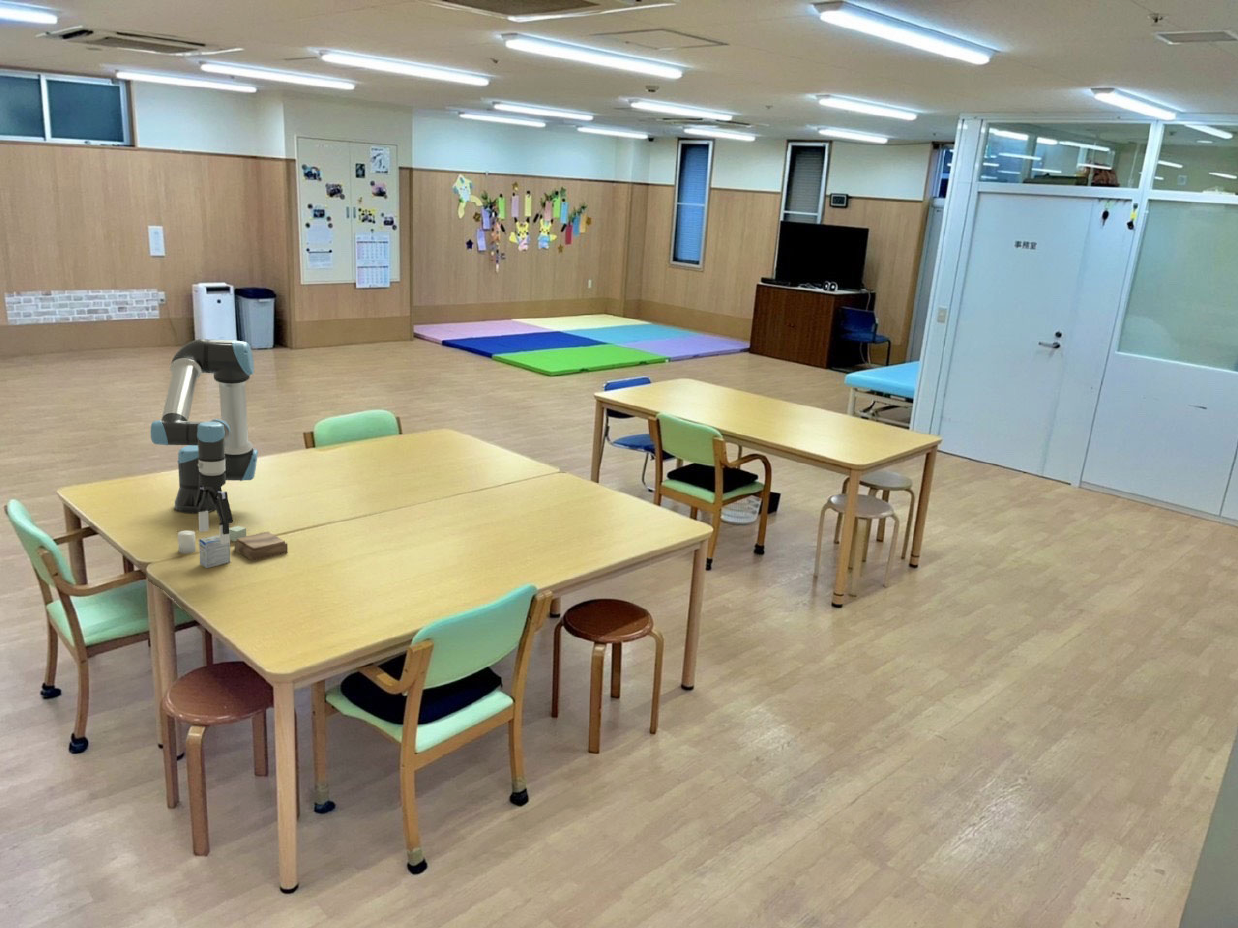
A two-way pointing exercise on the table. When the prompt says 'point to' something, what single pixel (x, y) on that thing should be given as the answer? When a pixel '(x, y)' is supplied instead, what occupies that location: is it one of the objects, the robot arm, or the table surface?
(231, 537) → the sage block
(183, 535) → the white rounded capsule
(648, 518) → the table surface
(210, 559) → the medicine box
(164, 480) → the table surface
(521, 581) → the table surface
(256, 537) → the podium
